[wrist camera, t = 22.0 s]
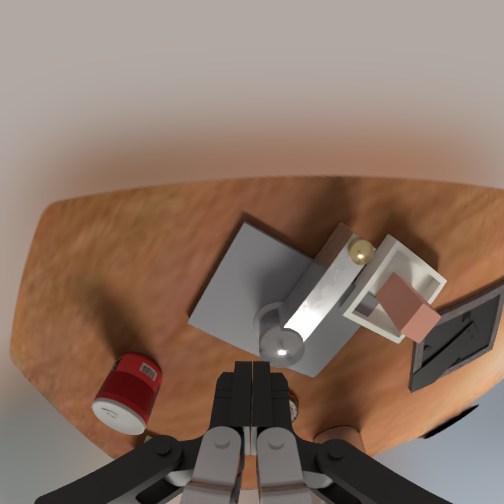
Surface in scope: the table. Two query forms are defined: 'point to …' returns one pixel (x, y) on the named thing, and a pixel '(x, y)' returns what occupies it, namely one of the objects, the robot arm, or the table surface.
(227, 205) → the table surface
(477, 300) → the picture frame
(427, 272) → the tray
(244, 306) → the crank plate
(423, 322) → the block
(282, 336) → the crank
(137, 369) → the canned food
